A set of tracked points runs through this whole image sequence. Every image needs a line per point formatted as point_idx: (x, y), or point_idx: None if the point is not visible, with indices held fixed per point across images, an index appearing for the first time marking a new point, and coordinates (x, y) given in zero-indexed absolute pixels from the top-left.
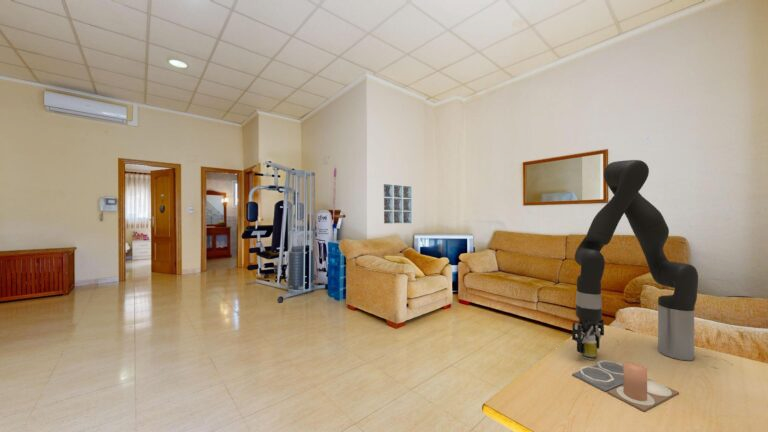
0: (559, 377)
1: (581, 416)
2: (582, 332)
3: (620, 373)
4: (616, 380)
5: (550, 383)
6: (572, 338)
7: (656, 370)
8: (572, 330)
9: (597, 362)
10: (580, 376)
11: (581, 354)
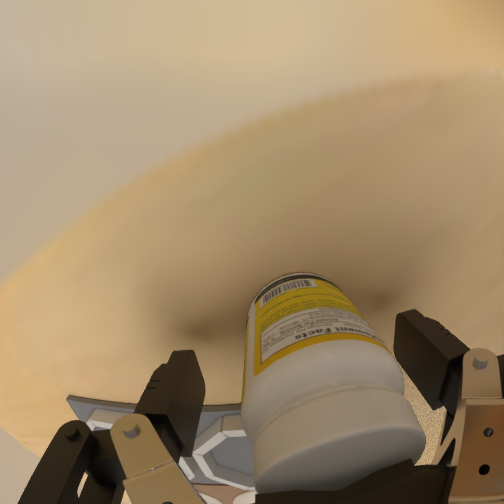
0: (28, 377)
1: (38, 450)
2: (314, 452)
3: (239, 484)
4: (202, 474)
5: (5, 378)
6: (61, 432)
7: (431, 434)
8: (23, 494)
9: (225, 432)
10: (85, 420)
11: (248, 314)
